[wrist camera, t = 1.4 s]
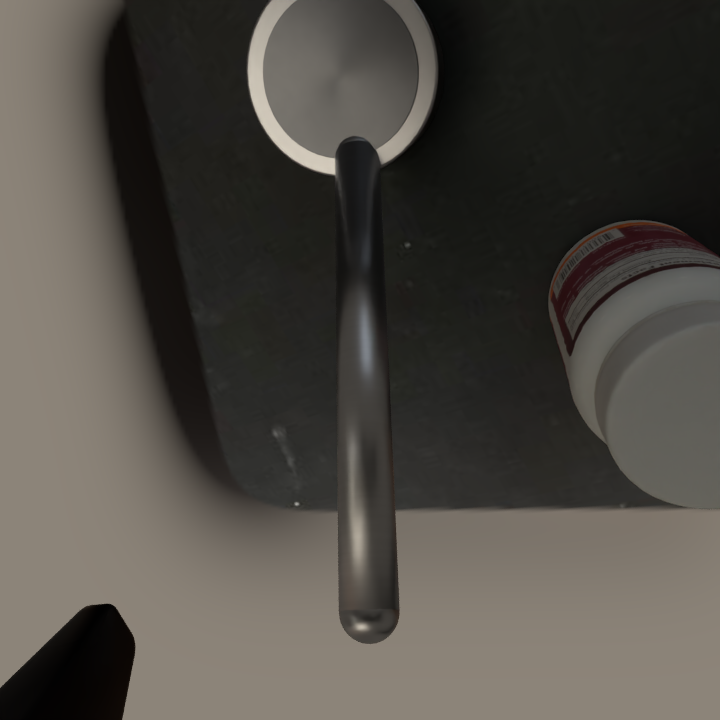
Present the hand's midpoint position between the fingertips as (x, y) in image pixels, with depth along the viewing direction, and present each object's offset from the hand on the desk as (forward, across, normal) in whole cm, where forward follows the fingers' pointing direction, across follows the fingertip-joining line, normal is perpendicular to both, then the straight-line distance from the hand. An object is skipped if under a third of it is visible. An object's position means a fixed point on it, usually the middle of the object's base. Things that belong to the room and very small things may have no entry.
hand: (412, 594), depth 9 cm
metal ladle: (+14, +1, -1) cm, 14 cm away
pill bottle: (+13, -6, +2) cm, 14 cm away
